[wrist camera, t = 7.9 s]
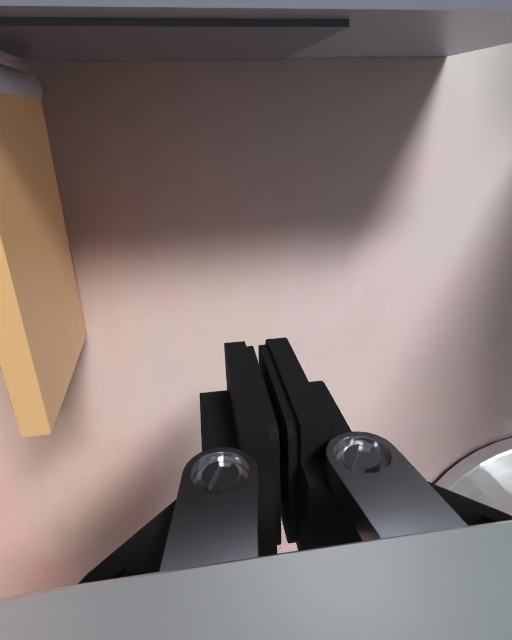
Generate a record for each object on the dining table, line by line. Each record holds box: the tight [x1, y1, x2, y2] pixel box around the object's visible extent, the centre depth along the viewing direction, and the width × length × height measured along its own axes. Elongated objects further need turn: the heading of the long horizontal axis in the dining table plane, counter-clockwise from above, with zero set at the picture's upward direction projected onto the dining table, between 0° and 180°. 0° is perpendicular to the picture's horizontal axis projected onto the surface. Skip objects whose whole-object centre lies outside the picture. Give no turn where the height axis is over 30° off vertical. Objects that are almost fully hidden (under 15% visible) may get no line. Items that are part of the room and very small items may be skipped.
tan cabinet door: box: [0, 64, 87, 438], centre depth 14 cm, size 1×10×6 cm, turn 1°
